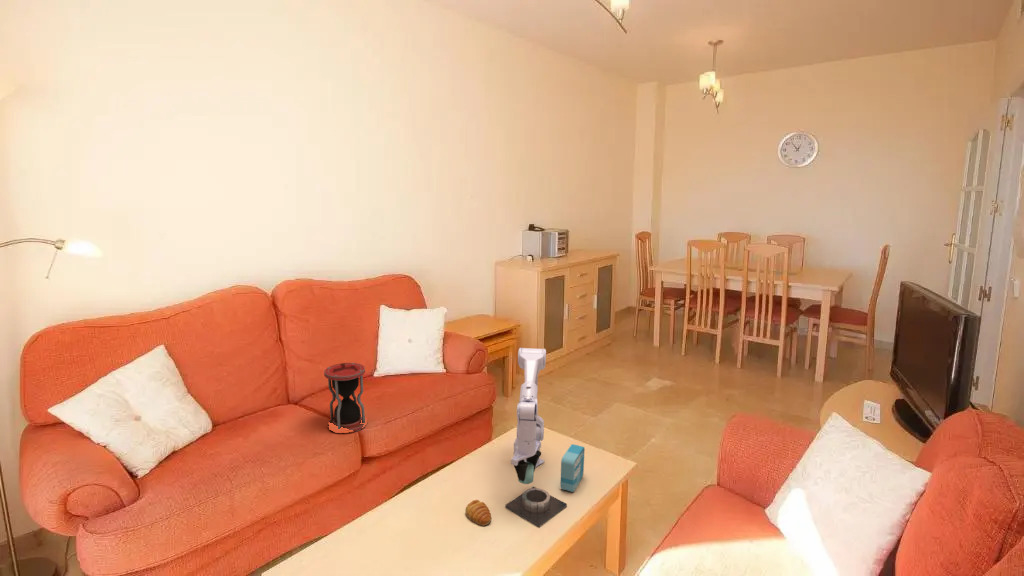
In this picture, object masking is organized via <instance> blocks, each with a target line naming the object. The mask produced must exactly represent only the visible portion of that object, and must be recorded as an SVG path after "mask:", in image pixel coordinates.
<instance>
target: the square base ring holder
mask: <svg viewBox="0 0 1024 576" xmlns="http://www.w3.org/2000/svg"><path fill="white" fill-rule="evenodd" d="M567 507H568V504H567V503H566V502H564V501H562V500H560V499H558V498H557V497H554V496H552V495H550V493H549V492H548V490H546V489H545V490H544V489H543V488H537V487H536V486H531V488H528V489H526V490H525V491H523V493H521V494H520V495H518V496H517V497H515V498H513V499H512V500H510V501H509V502H508V503H506V504H505V509H507V510H509V511H510V512H512V513H514V514H516V515H517V516H519V517H521V518H522V519H524V520H526V521H527V522H530V523H531V524H533V526H536V527H538V528H541V527H542V526H543V525H544V524H546V523H547V522H548V521H550V520H551V519H552V518H554V517H555V516H556V515H557V514H559V513H561V512H562V511H563V510H564V509H566V508H567Z"/></svg>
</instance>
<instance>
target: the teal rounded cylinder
mask: <svg viewBox="0 0 1024 576" xmlns="http://www.w3.org/2000/svg"><path fill="white" fill-rule="evenodd" d="M527 463H529V464H528V466H527V469H526V475H525V480H524V481H521V480H519V479H518V478H517V481H518V483H519V484H522V485H529V484H532V483H533V482H534V479H535V478H534V474H535V471H534V465H533V464H532V463H530V462H527Z"/></svg>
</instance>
